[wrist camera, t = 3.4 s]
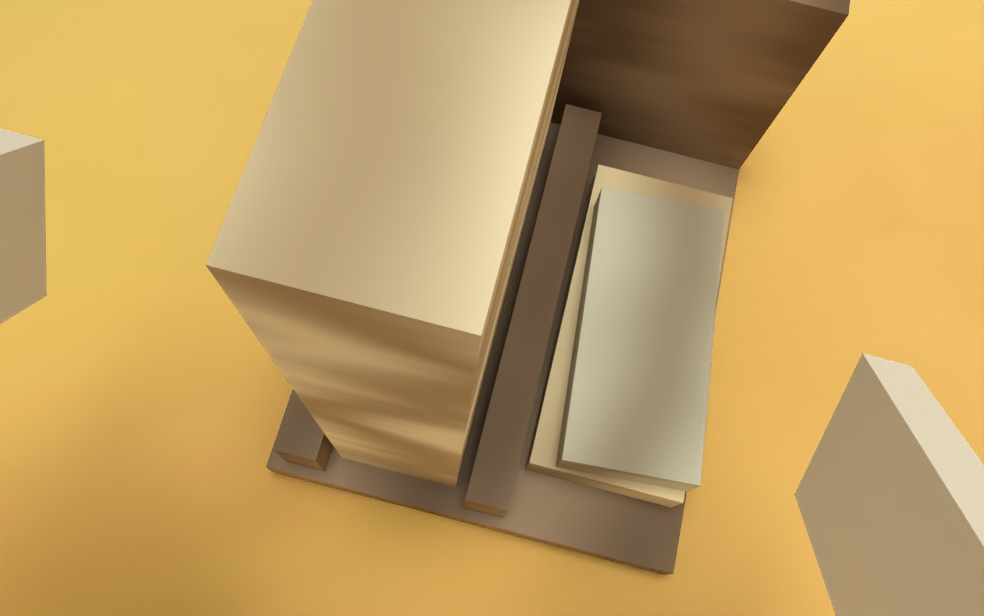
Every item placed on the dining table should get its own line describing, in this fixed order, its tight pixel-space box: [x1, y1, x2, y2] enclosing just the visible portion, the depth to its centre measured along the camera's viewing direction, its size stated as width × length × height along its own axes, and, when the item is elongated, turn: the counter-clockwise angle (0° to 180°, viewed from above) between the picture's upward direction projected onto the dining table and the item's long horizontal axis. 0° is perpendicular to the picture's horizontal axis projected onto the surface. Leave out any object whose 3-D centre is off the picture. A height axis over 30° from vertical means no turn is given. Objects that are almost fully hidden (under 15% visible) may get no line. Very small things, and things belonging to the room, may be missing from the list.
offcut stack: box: [525, 165, 733, 507], centre depth 25 cm, size 4×10×3 cm, turn 166°
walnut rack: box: [266, 0, 850, 574], centre depth 23 cm, size 12×15×9 cm
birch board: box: [206, 0, 579, 488], centre depth 19 cm, size 4×12×15 cm, turn 166°
